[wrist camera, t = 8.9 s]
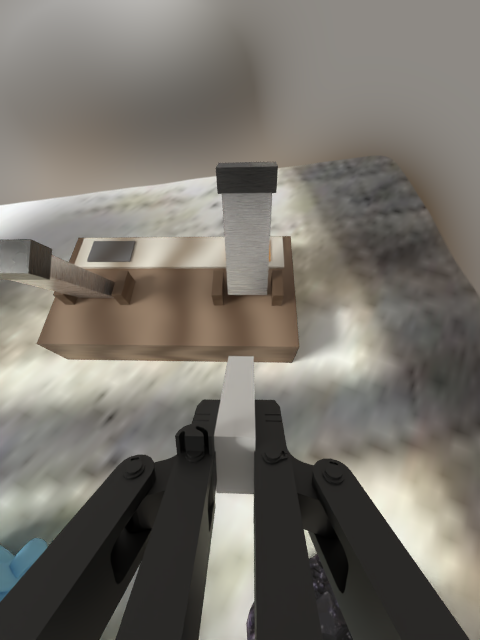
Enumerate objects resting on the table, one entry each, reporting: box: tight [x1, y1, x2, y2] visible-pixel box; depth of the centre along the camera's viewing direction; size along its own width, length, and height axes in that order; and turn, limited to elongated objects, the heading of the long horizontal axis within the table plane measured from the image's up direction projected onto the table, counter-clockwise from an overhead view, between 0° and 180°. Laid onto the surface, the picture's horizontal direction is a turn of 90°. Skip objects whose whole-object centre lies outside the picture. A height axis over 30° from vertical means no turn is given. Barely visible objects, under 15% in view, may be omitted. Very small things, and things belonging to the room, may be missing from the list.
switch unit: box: [37, 236, 299, 363], centre depth 30 cm, size 26×14×7 cm, turn 89°
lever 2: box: [216, 162, 278, 295], centre depth 24 cm, size 5×2×12 cm, turn 89°
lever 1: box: [0, 239, 115, 298], centre depth 23 cm, size 5×2×12 cm, turn 89°
